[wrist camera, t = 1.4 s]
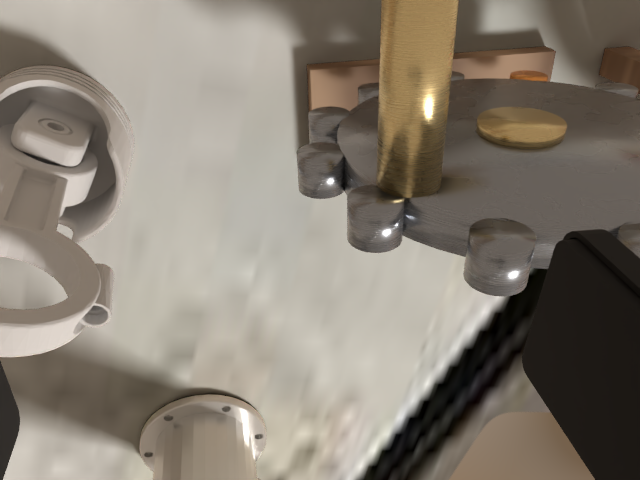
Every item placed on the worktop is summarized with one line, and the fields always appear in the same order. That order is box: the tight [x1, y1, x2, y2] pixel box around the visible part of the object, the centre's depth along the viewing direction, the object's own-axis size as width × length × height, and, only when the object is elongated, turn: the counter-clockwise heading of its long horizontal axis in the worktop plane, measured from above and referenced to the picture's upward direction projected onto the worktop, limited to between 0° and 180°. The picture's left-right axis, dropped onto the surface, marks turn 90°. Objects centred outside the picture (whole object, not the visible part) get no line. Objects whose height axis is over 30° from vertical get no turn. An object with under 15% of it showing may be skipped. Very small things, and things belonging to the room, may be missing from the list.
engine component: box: [0, 65, 134, 357], centre depth 31 cm, size 11×20×10 cm
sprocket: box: [297, 0, 640, 296], centre depth 27 cm, size 23×11×23 cm, turn 91°
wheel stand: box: [307, 46, 640, 112], centre depth 37 cm, size 25×8×15 cm, turn 91°
